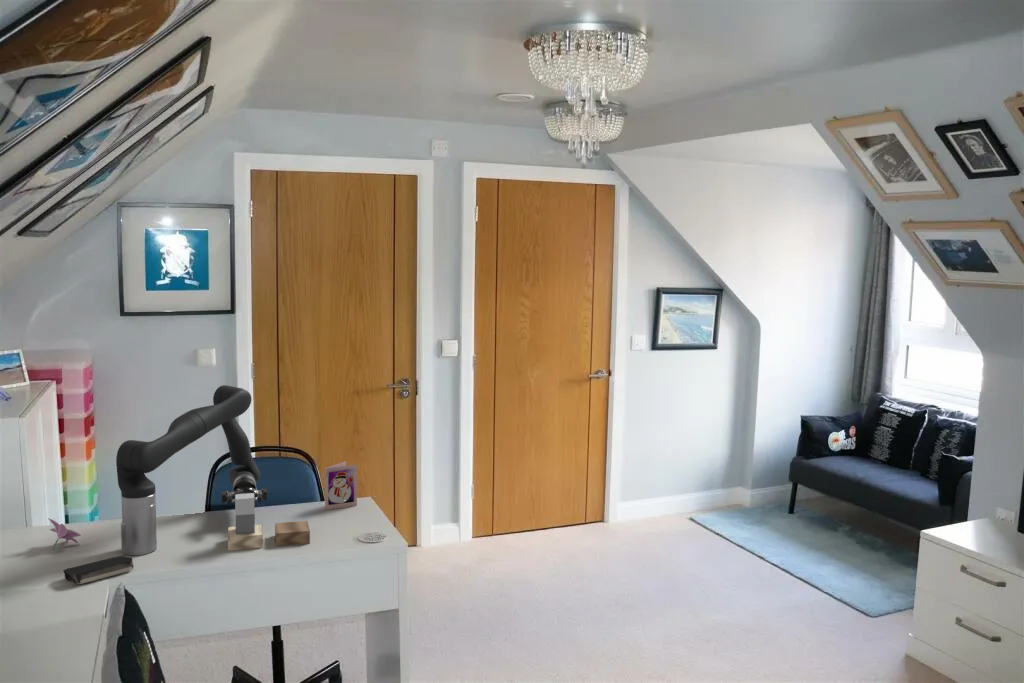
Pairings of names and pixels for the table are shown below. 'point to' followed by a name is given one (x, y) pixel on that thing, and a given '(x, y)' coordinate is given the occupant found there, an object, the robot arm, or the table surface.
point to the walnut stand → (292, 533)
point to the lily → (63, 532)
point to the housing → (245, 513)
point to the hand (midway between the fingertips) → (244, 501)
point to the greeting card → (340, 486)
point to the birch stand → (245, 539)
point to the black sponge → (99, 569)
